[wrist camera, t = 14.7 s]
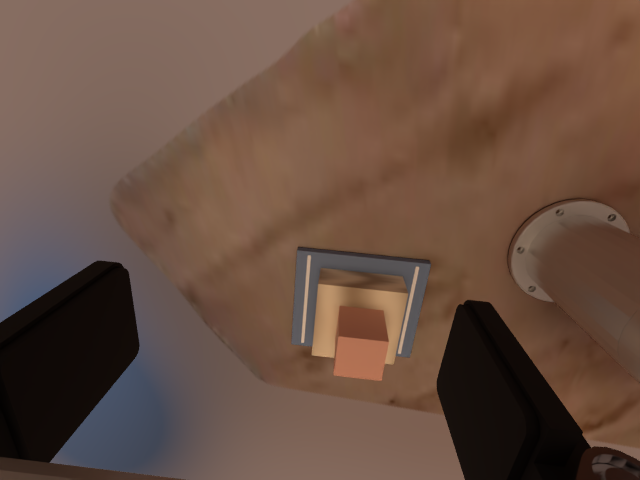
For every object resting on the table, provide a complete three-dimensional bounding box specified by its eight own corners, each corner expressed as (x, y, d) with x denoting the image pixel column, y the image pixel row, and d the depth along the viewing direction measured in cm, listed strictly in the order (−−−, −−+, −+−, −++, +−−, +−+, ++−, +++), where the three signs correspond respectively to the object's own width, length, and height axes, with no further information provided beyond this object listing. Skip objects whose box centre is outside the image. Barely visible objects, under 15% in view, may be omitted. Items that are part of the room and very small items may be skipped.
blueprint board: (429, 260, 42) (431, 264, 40) (408, 352, 47) (409, 358, 46) (298, 247, 42) (297, 250, 41) (292, 339, 47) (291, 344, 46)
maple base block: (402, 276, 41) (408, 293, 38) (389, 342, 45) (393, 364, 42) (320, 267, 42) (318, 283, 38) (314, 334, 46) (311, 355, 42)
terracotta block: (383, 310, 39) (389, 342, 34) (377, 345, 41) (381, 380, 36) (339, 305, 39) (338, 336, 34) (335, 341, 41) (333, 375, 36)
